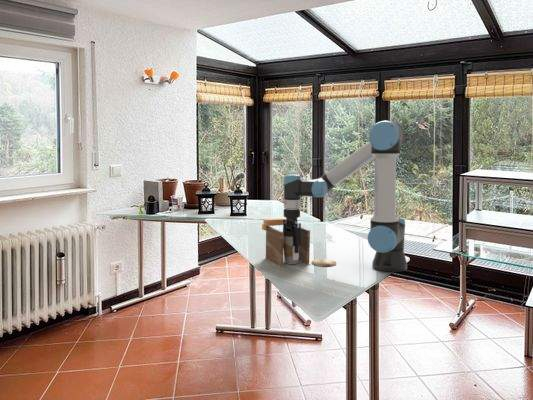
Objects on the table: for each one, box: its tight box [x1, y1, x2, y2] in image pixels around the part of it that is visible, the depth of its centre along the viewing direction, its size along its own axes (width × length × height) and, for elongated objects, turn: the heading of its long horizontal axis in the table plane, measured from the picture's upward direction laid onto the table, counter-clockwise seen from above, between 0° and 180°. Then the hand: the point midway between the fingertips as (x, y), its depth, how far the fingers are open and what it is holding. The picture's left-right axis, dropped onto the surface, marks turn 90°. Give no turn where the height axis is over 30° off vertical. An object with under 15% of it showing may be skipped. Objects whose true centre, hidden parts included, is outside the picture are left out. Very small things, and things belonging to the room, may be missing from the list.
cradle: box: [265, 226, 311, 268], centre depth 235 cm, size 14×17×16 cm
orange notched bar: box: [261, 217, 286, 231], centre depth 241 cm, size 18×3×5 cm, turn 113°
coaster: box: [311, 258, 337, 268], centre depth 232 cm, size 11×11×1 cm
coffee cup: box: [283, 229, 300, 265], centre depth 231 cm, size 8×8×15 cm
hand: (291, 257), depth 231 cm, fingers closed on coffee cup, 7 cm apart
